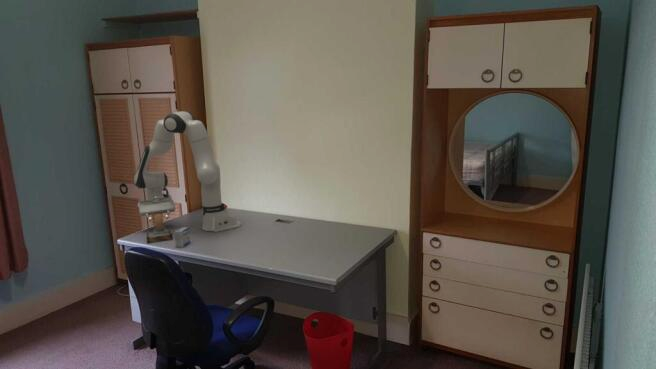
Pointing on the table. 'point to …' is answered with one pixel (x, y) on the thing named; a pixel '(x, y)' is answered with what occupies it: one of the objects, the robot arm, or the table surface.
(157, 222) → the terracotta canister
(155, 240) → the frame
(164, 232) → the pad
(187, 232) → the medicine box
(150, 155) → the robot arm
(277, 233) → the table surface
